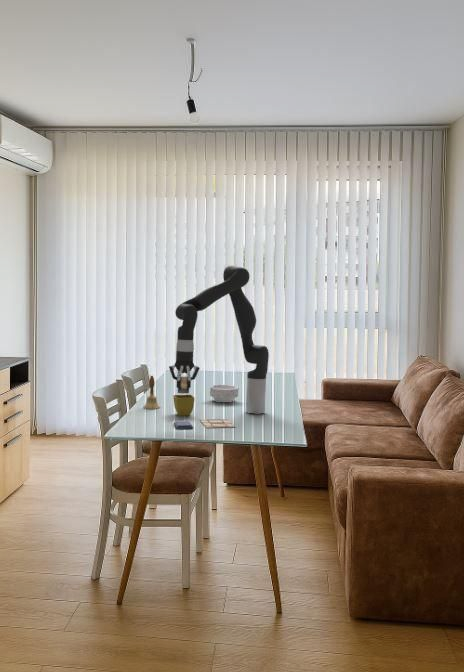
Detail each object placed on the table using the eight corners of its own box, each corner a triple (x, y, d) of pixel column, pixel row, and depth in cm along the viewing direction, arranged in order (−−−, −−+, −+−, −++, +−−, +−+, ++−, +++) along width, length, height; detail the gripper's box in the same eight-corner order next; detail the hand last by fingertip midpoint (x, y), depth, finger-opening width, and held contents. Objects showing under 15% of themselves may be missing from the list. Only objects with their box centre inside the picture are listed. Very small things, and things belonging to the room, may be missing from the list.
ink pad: (173, 424, 286) (173, 421, 285) (189, 424, 287) (189, 420, 287) (176, 429, 277) (176, 425, 277) (192, 428, 278) (192, 425, 278)
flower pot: (175, 417, 302) (176, 397, 301) (172, 413, 310) (173, 394, 309) (194, 416, 304) (194, 397, 303) (190, 412, 313) (191, 394, 312)
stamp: (176, 391, 286) (177, 376, 285) (187, 391, 287) (188, 376, 286) (178, 393, 281) (179, 377, 280) (190, 393, 282) (190, 377, 282)
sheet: (199, 420, 296) (199, 419, 296) (227, 419, 299) (227, 418, 299) (206, 428, 280) (206, 427, 280) (235, 427, 283) (235, 426, 283)
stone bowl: (238, 404, 338) (238, 389, 337) (208, 403, 338) (209, 388, 337) (238, 399, 353) (238, 384, 352) (210, 398, 353) (210, 384, 352)
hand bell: (149, 409, 317) (149, 377, 316) (140, 407, 323) (140, 375, 322) (163, 408, 322) (164, 376, 321) (154, 405, 328) (154, 374, 327)
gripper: (199, 349, 288) (197, 388, 289) (167, 348, 285) (166, 387, 286) (202, 351, 280) (200, 390, 282) (169, 350, 277) (168, 390, 279)
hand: (183, 388), depth 284 cm, fingers closed on stamp, 3 cm apart
